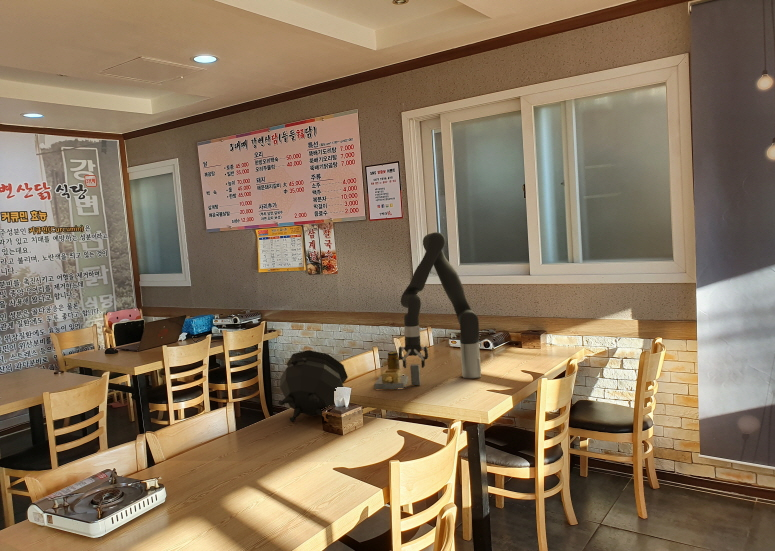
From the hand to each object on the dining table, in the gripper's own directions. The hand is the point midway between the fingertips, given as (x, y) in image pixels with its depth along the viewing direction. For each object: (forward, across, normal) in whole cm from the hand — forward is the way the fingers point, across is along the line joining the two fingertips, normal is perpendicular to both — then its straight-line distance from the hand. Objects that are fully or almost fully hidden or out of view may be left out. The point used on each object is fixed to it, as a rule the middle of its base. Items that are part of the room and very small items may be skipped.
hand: (414, 367), depth 284 cm
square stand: (+9, +11, 0) cm, 14 cm away
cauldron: (+10, +35, +47) cm, 59 cm away
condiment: (+9, +14, -19) cm, 25 cm away
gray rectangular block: (+9, -1, 0) cm, 9 cm away
